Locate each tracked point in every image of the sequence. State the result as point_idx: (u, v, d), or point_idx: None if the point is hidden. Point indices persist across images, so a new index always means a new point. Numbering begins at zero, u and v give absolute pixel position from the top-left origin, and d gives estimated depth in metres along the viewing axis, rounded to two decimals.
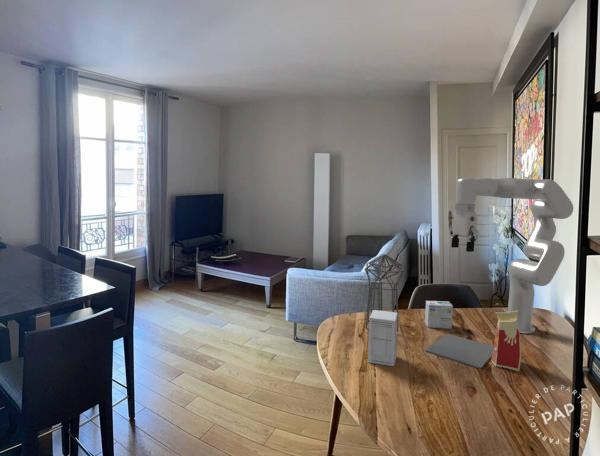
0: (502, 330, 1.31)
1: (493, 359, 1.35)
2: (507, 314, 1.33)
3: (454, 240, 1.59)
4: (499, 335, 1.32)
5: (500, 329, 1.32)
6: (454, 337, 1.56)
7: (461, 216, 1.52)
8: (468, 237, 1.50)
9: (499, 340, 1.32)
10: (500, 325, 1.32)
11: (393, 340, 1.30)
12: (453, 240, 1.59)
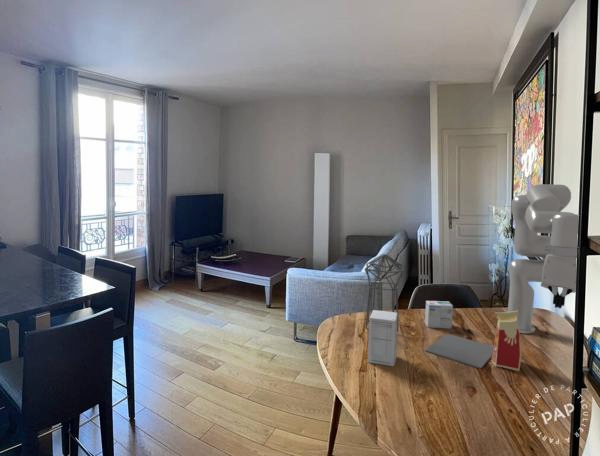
0: (502, 330, 1.31)
1: (493, 359, 1.35)
2: (507, 314, 1.33)
3: None
4: (499, 335, 1.32)
5: (500, 329, 1.32)
6: (454, 337, 1.56)
7: None
8: None
9: (499, 340, 1.32)
10: (500, 325, 1.32)
11: (393, 340, 1.30)
12: None
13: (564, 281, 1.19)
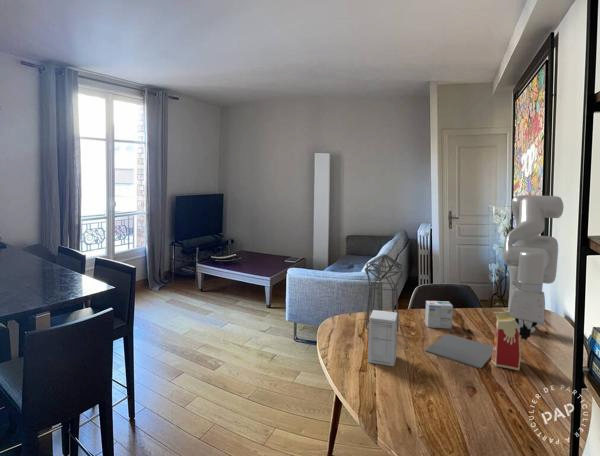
0: (501, 329, 1.32)
1: (493, 359, 1.35)
2: (505, 313, 1.33)
3: None
4: (498, 335, 1.32)
5: (499, 329, 1.32)
6: (454, 337, 1.56)
7: None
8: None
9: (498, 340, 1.32)
10: (499, 325, 1.32)
11: (393, 340, 1.30)
12: None
13: (529, 315, 1.26)
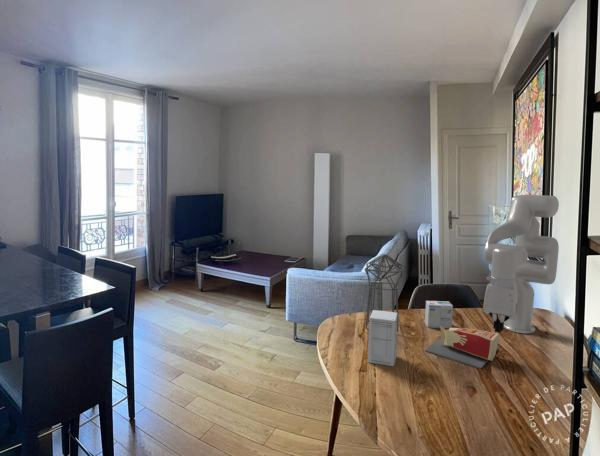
0: (453, 344, 1.42)
1: None
2: (443, 335, 1.48)
3: None
4: (458, 348, 1.41)
5: (453, 345, 1.42)
6: None
7: None
8: None
9: (463, 349, 1.40)
10: (449, 344, 1.43)
11: (393, 340, 1.30)
12: None
13: (502, 309, 1.32)
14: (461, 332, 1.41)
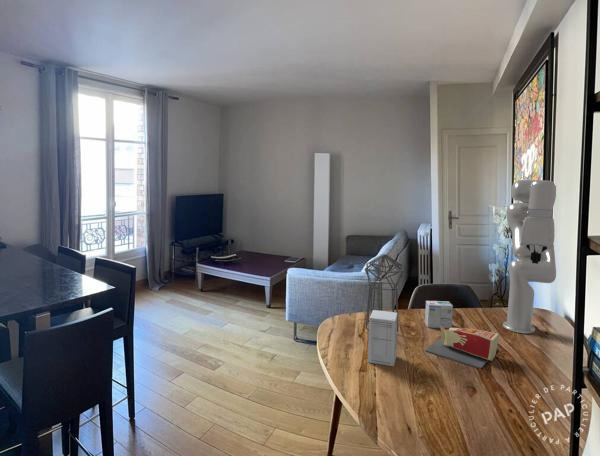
0: (453, 344, 1.42)
1: None
2: (443, 335, 1.48)
3: None
4: (458, 348, 1.41)
5: (453, 345, 1.42)
6: None
7: None
8: None
9: (463, 349, 1.40)
10: (449, 344, 1.43)
11: (393, 340, 1.30)
12: None
13: (540, 239, 1.36)
14: (461, 332, 1.41)
